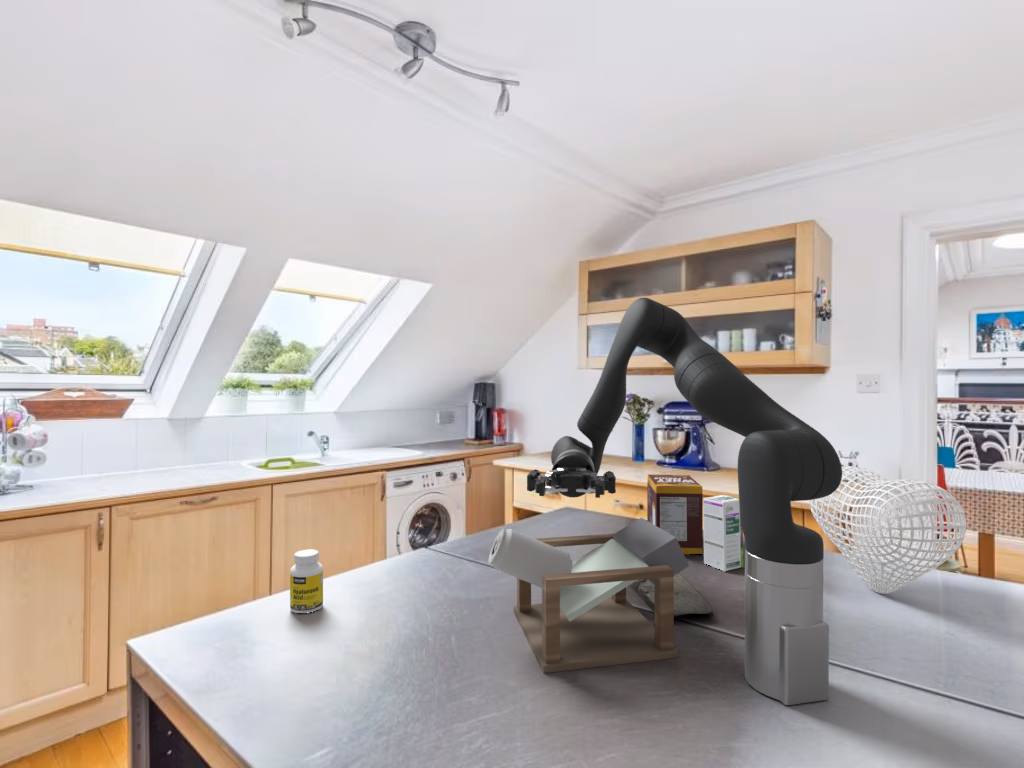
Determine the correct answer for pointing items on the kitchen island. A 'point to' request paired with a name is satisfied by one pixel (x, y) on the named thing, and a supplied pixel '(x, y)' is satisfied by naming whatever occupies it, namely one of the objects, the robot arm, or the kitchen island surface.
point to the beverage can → (527, 557)
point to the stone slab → (675, 596)
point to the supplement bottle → (306, 582)
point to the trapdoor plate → (621, 564)
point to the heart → (883, 484)
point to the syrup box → (722, 533)
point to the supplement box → (677, 509)
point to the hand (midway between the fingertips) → (569, 490)
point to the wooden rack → (597, 618)
